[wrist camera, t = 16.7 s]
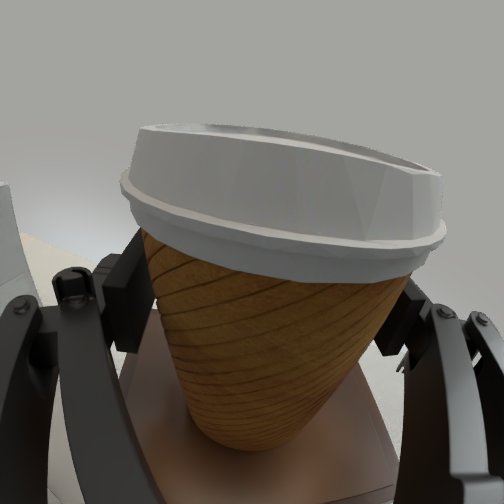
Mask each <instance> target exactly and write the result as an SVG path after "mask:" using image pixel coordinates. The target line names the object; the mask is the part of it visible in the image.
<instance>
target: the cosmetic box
mask: <svg viewBox="0 0 504 504" xmlns="http://www.w3.org/2000/svg"><path fill="white" fill-rule="evenodd" d="M20 295H33V296H34V297H36V299H37V301H38V304H39V307H43V306H42V303H41V301H40V298H39V295H38V293H37V290H36V287H35V285H34V282H33V279H32V276H31V273H30V270H29V267H28V264H27V261H26V258H25V254H24V251H23V247H22V244H21V240H20V236H19V232H18V228H17V224H16V219H15V215H14V210H13V205H12V200H11V194H10V187H9V183H6V182H2V181H0V316H1V314H2V313H3V311H4V309H5V307H6V305H7V304H8V303H9V302H10V301H11V300H12V299H14V298H15V297H17V296H20Z"/></svg>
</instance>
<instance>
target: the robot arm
mask: <svg viewBox="0 0 504 504" xmlns="http://www.w3.org/2000/svg"><path fill="white" fill-rule="evenodd" d="M148 266H149V265H148V263H147V258H146V253H145V249H144V242H143V237H142V232H141V227H140V229H139V230H138V231H137V233H136V234H135V236H134V237H133V238H132V240H131V242H130V243H129V244H128V246H127V247H126V248H125V250H124V251H123V253H122V254H109V255H108V256H106V257H105V258H103V259H102V260H101V261H100V263H99V264H98V265H97V268H95V269H94V271H93V273H91V271H90V270H88V269H87V268H83V267H71V268H67V269H64V270H62V271H60V272H58V273H57V274H56V275H55V276H54V277H53V279H52V285H53V288H54V292H55V295H56V299H57V302H58V305H56V306H47V307H39V304H38V301H37V299H36V297H34V296H33V295H20V296H17V297H15V298H14V299H12V300H11V301H10V302H9V303H8V304H7V305H6V307H5V309H4V311H3V313H2V314H1V316H0V504H48V486H47V479H48V451H49V438H50V428H51V419H52V411H53V404H54V398H55V392H56V386H57V381H58V375H59V377H60V388H61V398H62V406H63V413H64V420H65V426H66V431H67V437H68V442H69V447H70V451H71V456H72V460H73V464H74V468H75V472H76V475H77V479H78V482H79V486H80V489H81V492H82V495H83V498H84V501H85V504H167V503H166V501H165V499H164V497H163V495H162V493H161V491H160V489H159V487H158V485H157V483H156V481H155V479H154V476H153V474H152V472H151V470H150V468H149V465H148V463H147V461H146V458H145V456H144V453H143V451H142V448H141V446H140V443H139V441H138V438H137V436H136V433H135V430H134V427H133V425H132V422H131V419H130V416H129V413H128V410H127V407H126V404H125V400H124V397H123V394H122V391H121V387H120V384H119V380H118V376H117V373H116V369H115V365H114V361H113V357H112V354H111V350H110V348H111V346H112V343H113V341H114V342H115V346H116V350H117V351H120V352H127V353H134V354H137V353H138V350H139V346H140V343H141V340H142V337H143V333H144V330H145V327H146V324H147V321H148V318H149V315H150V312H151V309H152V306H153V303H154V300H155V295H154V291H153V288H152V284H153V283H152V281H151V278H150V274H149V270H148ZM374 341H375V343H376V345H377V346H378V348H379V350H380V352H381V354H382V356H392V355H398V354H399V352H400V350H401V348H402V346H403V345H404V344H405V345H406V347H407V348H408V351H407V353H406V354H405V356H404V357H403V359H402V361H401V362H400V364H399V366H398V367H397V370H396V372H399V371H400V369H401V367H404V370H403V371H402V373H404V416H403V432H402V444H401V454H400V463H399V471H398V478H397V484H396V490H395V496H394V501H393V504H504V340H503V338H502V336H501V335H500V333H499V332H498V330H497V329H496V327H495V326H494V324H493V323H492V321H491V320H490V319H489V318H488V317H487V316H486V315H485V314H484V313H483V314H482V312H477V311H473V312H471V313H470V315H469V317H468V319H467V321H465V320H460V319H458V317H457V315H456V313H455V312H454V311H453V310H452V309H450V308H449V307H447V306H445V305H442V304H433V303H432V302H431V301H430V299H429V298H428V297H427V296H426V295H425V294H424V293H423V291H422V290H420V288H419V287H418V286H417V285H416V284H415V283H414V281H413V280H412V279H411V278H409V279H408V281H407V283H406V285H405V287H404V289H403V291H402V292H401V294H400V296H399V297H398V299H397V301H396V303H395V305H394V307H393V308H392V310H391V311H390V313H389V315H388V316H387V318H386V320H385V322H384V323H383V325H382V326H381V328H380V329H379V331H378V332H377V334H376V336H375V337H374ZM478 352H480V354H481V356H482V357H481V358H480V360H479V361H478V363H477V364H476V365H475V367H473V366H472V361H473V359H474V358H475V356H476V355H477V353H478Z"/></svg>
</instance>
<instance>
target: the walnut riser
mask: <svg viewBox="0 0 504 504" xmlns="http://www.w3.org/2000/svg"><path fill="white" fill-rule="evenodd" d="M160 317H161V314H159V312H158V309H151V312H150V315H149V318H148V321H147V324H146V327H145V330H144V333H143V337H142V340H141V343H140V346H139V350H138V353H137V354H134V353H127V354H126V358H125V361H124V364H123V367H122V370H121V373H120V377H119V384H120V387H121V391H122V394H123V397H124V400H125V404H126V407H127V410H128V413H129V416H130V419H131V422H132V425H133V427H134V430H135V433H136V436H137V438H138V441H139V443H140V446H141V448H142V451H143V453H144V456H145V458H146V461H147V463H148V465H149V468H150V470H151V472H152V474H153V476H154V479H155V481H156V483H157V485H158V487H159V489H160V491H161V493H162V495H163V497H164V499H165V501H166V503H167V504H390V503H392V502H393V501H394V496H395V490H396V484H397V478H398V471H399V463H400V462H399V460H398V457H397V454H396V452H395V449H394V446H393V444H392V441H391V439H390V436H389V434H388V431H387V429H386V426H385V424H384V421H383V419H382V416H381V414H380V411H379V409H378V407H377V404H376V402H375V399H374V397H373V395H372V392H371V390H370V388H369V385H368V383H367V381H366V378H365V376H364V374H363V372H362V369H361V367H360V365H359V363H358V362H357V363H356V365H355V366H354V367H353V368H352V370H351V371H350V373H349V374H348V375H347V377H346V378H345V379H344V381H343V382H342V383H341V385H340V386H339V387H338V388H337V390H336V391H335V392H334V394H333V395H332V396H331V397H330V398H329V400H328V401H327V402H326V403H325V404H324V406H323V407H322V408H321V409H320V410H319V411H318V413H317V414H316V415H315V416H314V417H313V418H312V419H311V421H310V422H309V423H308V424H307V425H306V426H305V427H304V429H303V430H302V431H301V432H300V433H299V434H298V435H297V436H296V437H295V438H294V439H292V440H290V441H289V442H287V443H285V444H284V445H281V446H278V447H275V448H272V449H269V450H263V451H243V450H237V449H233V448H229V447H226V446H224V445H222V444H220V443H218V442H216V441H214V440H212V439H211V438H210V437H208V436H207V435H206V434H204V433H203V432H202V431H201V430H200V428H199V427H198V426H197V425H196V423H195V422H194V420H193V418H192V416H191V415H190V412H189V409H188V405H187V403H186V400H185V397H184V394H183V390H182V388H181V386H180V382H179V380H178V377H177V373H176V371H175V368H174V363H173V361H172V358H171V353H170V351H169V348H168V345H167V342H168V341H166V338H165V334H164V328H163V326H162V323H161V320H160Z"/></svg>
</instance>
